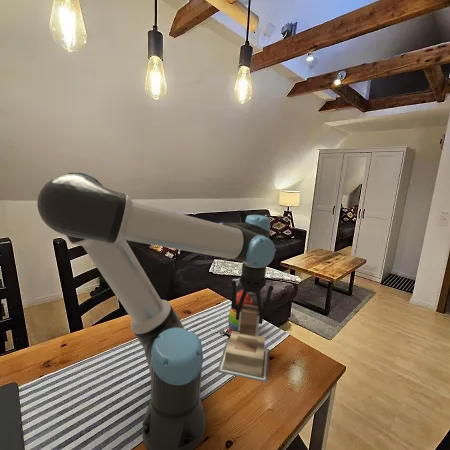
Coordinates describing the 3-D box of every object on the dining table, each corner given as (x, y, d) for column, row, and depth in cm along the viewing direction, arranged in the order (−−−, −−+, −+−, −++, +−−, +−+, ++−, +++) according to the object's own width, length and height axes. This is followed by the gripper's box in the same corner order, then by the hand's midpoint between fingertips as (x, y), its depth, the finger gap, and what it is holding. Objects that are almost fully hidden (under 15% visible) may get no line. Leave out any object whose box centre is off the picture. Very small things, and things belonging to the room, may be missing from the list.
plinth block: (261, 376, 80) (263, 359, 79) (224, 368, 83) (225, 351, 81) (263, 351, 92) (265, 336, 91) (230, 345, 94) (232, 330, 93)
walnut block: (254, 336, 82) (257, 313, 81) (239, 333, 83) (241, 311, 82) (256, 327, 87) (258, 306, 86) (241, 325, 88) (243, 303, 87)
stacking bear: (250, 344, 96) (255, 300, 93) (224, 339, 98) (228, 296, 95) (253, 328, 107) (257, 288, 104) (229, 324, 109) (233, 285, 105)
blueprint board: (267, 384, 78) (267, 382, 78) (216, 372, 81) (216, 371, 81) (269, 350, 94) (269, 349, 94) (226, 342, 97) (226, 340, 96)
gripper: (283, 263, 83) (275, 328, 87) (228, 256, 86) (224, 319, 91) (283, 271, 76) (275, 341, 80) (224, 263, 79) (219, 331, 83)
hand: (248, 329), depth 85 cm, fingers closed on walnut block, 5 cm apart
